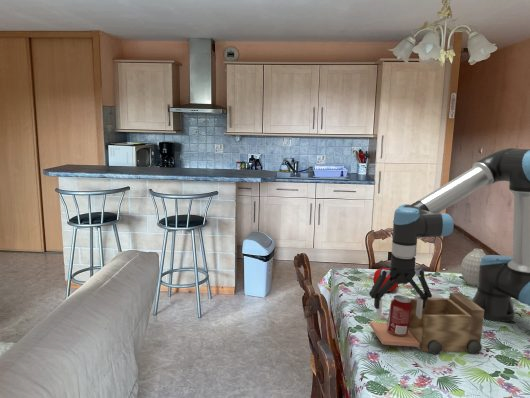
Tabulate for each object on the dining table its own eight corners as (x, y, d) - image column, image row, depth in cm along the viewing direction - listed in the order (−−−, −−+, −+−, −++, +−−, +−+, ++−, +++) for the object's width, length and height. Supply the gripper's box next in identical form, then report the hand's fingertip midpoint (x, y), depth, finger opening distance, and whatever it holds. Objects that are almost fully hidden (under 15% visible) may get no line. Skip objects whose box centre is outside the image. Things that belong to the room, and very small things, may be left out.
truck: (454, 328, 149) (458, 291, 147) (482, 353, 132) (487, 312, 130) (402, 328, 148) (406, 291, 146) (424, 354, 131) (428, 312, 128)
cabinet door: (403, 324, 145) (370, 322, 144) (419, 343, 132) (383, 340, 131) (402, 328, 145) (369, 326, 144) (418, 347, 133) (382, 345, 132)
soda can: (408, 339, 134) (414, 304, 133) (387, 334, 136) (392, 300, 134) (405, 329, 141) (411, 296, 139) (385, 326, 142) (390, 292, 140)
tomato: (384, 295, 177) (386, 275, 176) (367, 285, 188) (368, 266, 187) (404, 292, 182) (406, 272, 180) (386, 282, 192) (387, 264, 191)
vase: (455, 278, 201) (459, 244, 198) (483, 280, 200) (487, 246, 197) (464, 288, 189) (468, 252, 186) (494, 290, 187) (499, 254, 184)
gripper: (435, 251, 139) (430, 311, 142) (362, 252, 137) (358, 312, 140) (446, 258, 131) (440, 321, 135) (369, 259, 129) (365, 322, 133)
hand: (398, 317), depth 138 cm, fingers open, 13 cm apart
